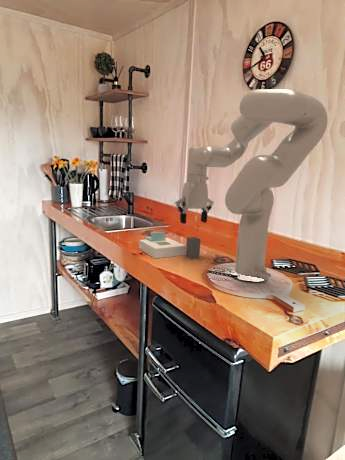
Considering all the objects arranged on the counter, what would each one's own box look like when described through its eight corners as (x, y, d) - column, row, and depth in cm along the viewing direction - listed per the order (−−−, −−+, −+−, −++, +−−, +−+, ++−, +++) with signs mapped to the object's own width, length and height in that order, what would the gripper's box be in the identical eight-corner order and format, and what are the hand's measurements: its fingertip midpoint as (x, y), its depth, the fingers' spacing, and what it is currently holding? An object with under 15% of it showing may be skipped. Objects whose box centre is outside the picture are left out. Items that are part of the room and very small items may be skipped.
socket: (185, 255, 134) (185, 245, 133) (155, 258, 127) (155, 248, 127) (167, 246, 148) (167, 237, 147) (139, 248, 141) (139, 240, 140)
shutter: (165, 240, 141) (165, 232, 141) (151, 241, 138) (151, 233, 137) (158, 236, 147) (158, 229, 147) (144, 237, 144) (144, 230, 143)
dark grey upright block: (199, 258, 130) (200, 239, 129) (190, 259, 128) (191, 239, 127) (194, 255, 134) (195, 237, 132) (185, 256, 132) (186, 237, 130)
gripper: (209, 179, 132) (206, 220, 136) (172, 178, 124) (170, 221, 128) (220, 180, 126) (216, 223, 130) (182, 179, 118) (179, 225, 121)
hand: (193, 222), depth 129 cm, fingers open, 9 cm apart
